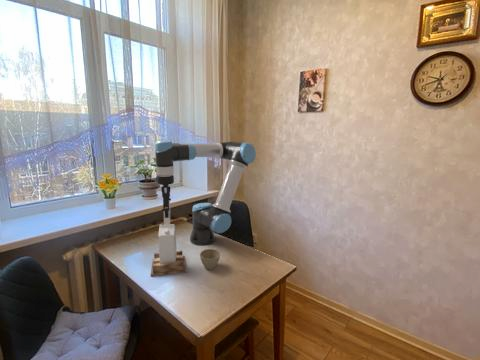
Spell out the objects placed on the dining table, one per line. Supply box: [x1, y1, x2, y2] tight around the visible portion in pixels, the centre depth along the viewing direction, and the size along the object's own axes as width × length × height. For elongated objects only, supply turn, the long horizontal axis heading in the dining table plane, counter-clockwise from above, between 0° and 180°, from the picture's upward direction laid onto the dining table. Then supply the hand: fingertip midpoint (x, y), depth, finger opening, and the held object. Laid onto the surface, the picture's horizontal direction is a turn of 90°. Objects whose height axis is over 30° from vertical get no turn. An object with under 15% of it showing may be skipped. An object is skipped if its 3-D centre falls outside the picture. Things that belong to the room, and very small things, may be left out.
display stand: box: [150, 250, 187, 277], centre depth 123 cm, size 16×14×4 cm
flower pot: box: [199, 248, 221, 270], centre depth 123 cm, size 10×10×7 cm
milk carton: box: [157, 223, 178, 264], centre depth 121 cm, size 7×7×19 cm
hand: (167, 218), depth 119 cm, fingers open, 13 cm apart
